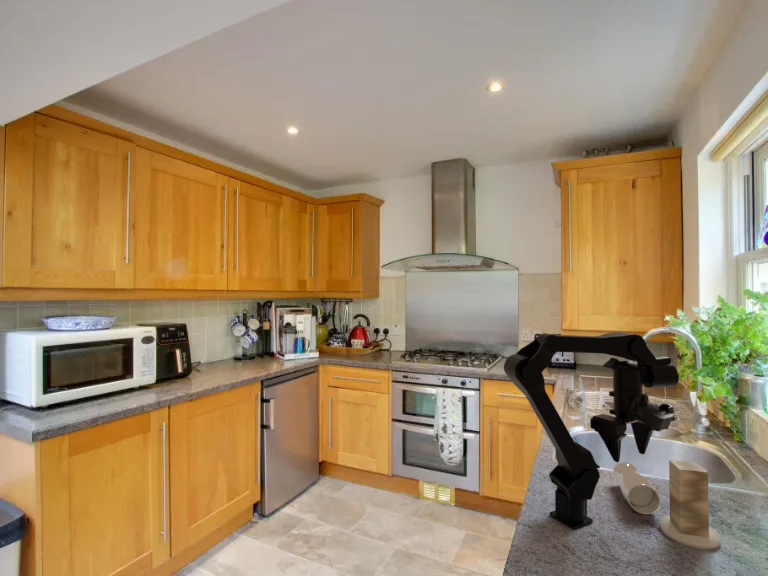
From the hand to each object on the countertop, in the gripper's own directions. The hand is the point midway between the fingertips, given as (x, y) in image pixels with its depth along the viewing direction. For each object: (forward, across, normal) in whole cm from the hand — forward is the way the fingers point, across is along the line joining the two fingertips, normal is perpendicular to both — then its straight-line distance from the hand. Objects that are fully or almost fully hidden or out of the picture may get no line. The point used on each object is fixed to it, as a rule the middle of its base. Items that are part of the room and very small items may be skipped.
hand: (629, 457), depth 92 cm
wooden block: (+12, +4, -10) cm, 16 cm away
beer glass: (+10, +13, +10) cm, 19 cm away
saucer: (+13, +4, -10) cm, 17 cm away
